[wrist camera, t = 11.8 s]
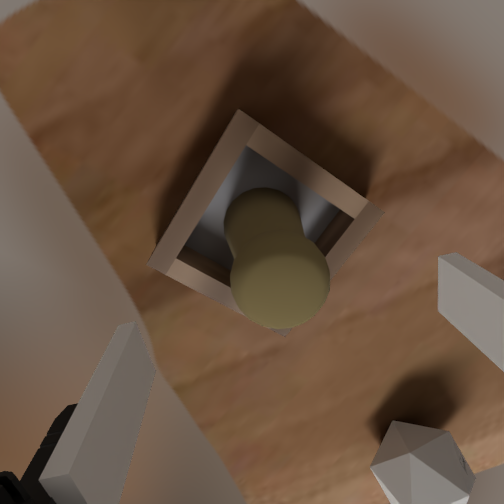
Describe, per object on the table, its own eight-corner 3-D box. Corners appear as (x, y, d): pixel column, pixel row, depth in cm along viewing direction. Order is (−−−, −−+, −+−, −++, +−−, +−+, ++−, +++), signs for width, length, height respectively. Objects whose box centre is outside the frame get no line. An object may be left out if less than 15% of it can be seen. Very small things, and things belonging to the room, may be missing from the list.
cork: (260, 170, 25) (283, 209, 14) (316, 222, 26) (372, 289, 16) (207, 229, 26) (195, 303, 16) (264, 275, 28) (286, 367, 18)
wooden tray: (365, 200, 27) (384, 212, 23) (278, 313, 30) (285, 337, 27) (236, 109, 23) (238, 108, 20) (155, 246, 27) (146, 264, 24)
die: (427, 459, 40) (518, 498, 31) (379, 518, 36) (466, 583, 27) (391, 396, 40) (472, 418, 31) (339, 449, 36) (413, 491, 27)
